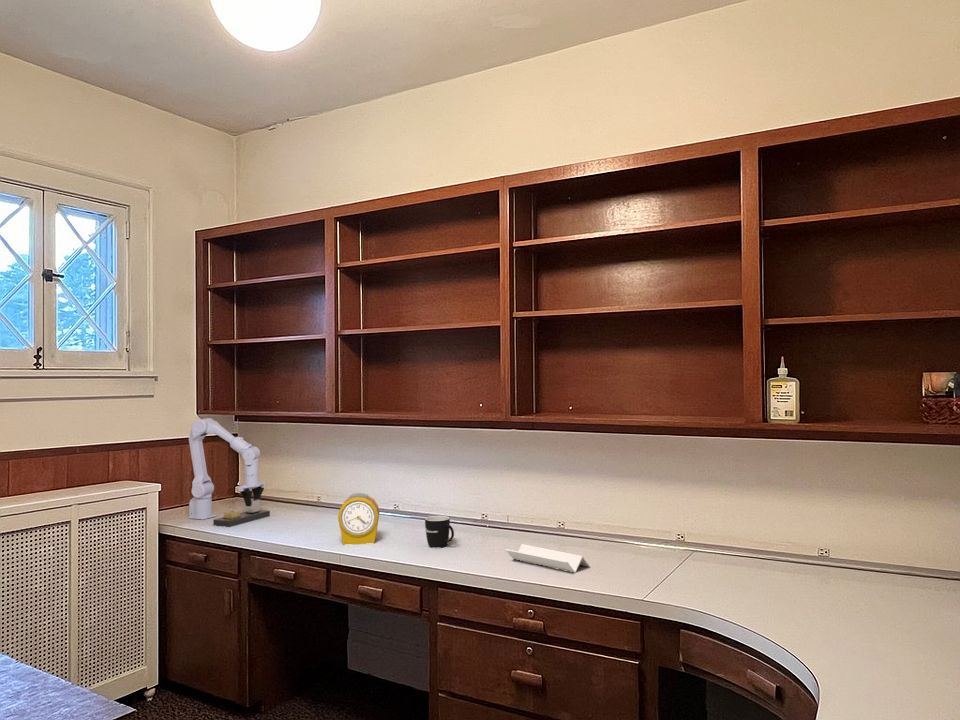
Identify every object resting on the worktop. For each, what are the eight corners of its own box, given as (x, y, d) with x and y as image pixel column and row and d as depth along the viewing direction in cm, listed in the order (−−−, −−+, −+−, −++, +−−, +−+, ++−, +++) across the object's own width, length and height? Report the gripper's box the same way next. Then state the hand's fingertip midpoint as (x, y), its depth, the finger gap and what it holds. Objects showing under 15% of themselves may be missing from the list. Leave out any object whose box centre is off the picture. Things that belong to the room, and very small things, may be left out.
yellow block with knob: (224, 524, 314) (223, 512, 314) (232, 522, 318) (231, 510, 318) (231, 525, 311) (231, 513, 311) (239, 522, 315) (239, 511, 315)
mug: (420, 546, 267) (419, 519, 267) (436, 541, 274) (436, 514, 275) (445, 551, 260) (445, 522, 260) (461, 546, 267) (461, 518, 267)
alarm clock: (338, 545, 272) (337, 495, 272) (340, 540, 280) (339, 492, 280) (378, 543, 273) (377, 494, 273) (380, 538, 281) (379, 490, 281)
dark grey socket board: (213, 525, 311) (213, 519, 311) (254, 514, 333) (254, 509, 333) (229, 527, 307) (228, 521, 307) (269, 516, 328) (269, 510, 328)
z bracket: (522, 570, 251) (530, 554, 254) (583, 583, 234) (590, 566, 237) (505, 549, 244) (513, 534, 248) (566, 562, 227) (574, 545, 231)
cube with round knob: (244, 511, 324) (244, 500, 324) (252, 510, 328) (252, 498, 328) (252, 512, 322) (252, 501, 322) (259, 510, 326) (259, 499, 326)
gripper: (246, 477, 317) (247, 508, 317) (270, 472, 330) (270, 502, 330) (234, 476, 320) (234, 507, 320) (258, 471, 333) (259, 501, 333)
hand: (252, 505), depth 325 cm, fingers closed on cube with round knob, 4 cm apart
